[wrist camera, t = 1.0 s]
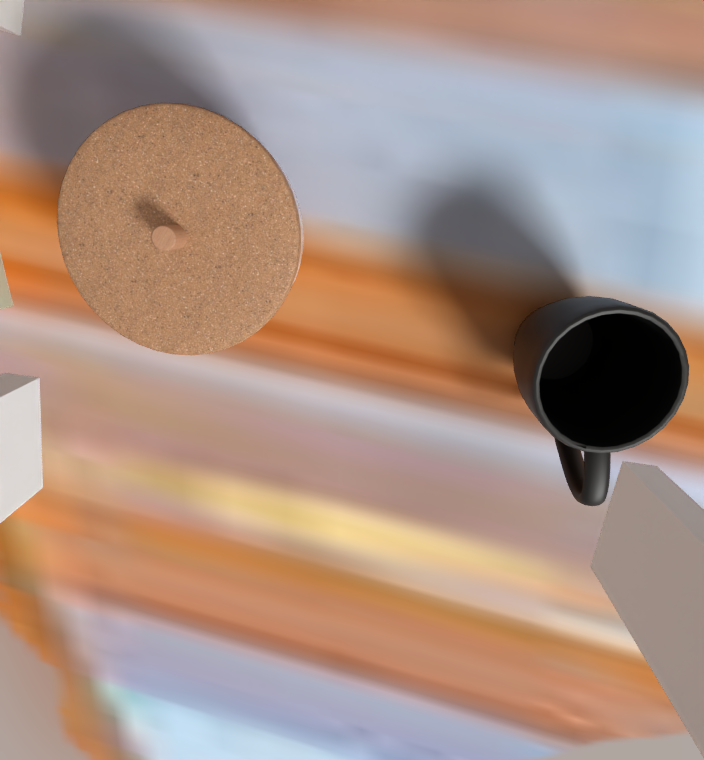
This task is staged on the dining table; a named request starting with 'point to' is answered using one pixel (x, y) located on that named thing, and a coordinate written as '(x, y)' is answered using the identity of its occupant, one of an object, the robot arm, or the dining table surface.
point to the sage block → (4, 288)
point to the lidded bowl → (179, 228)
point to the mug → (598, 382)
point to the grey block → (11, 16)
